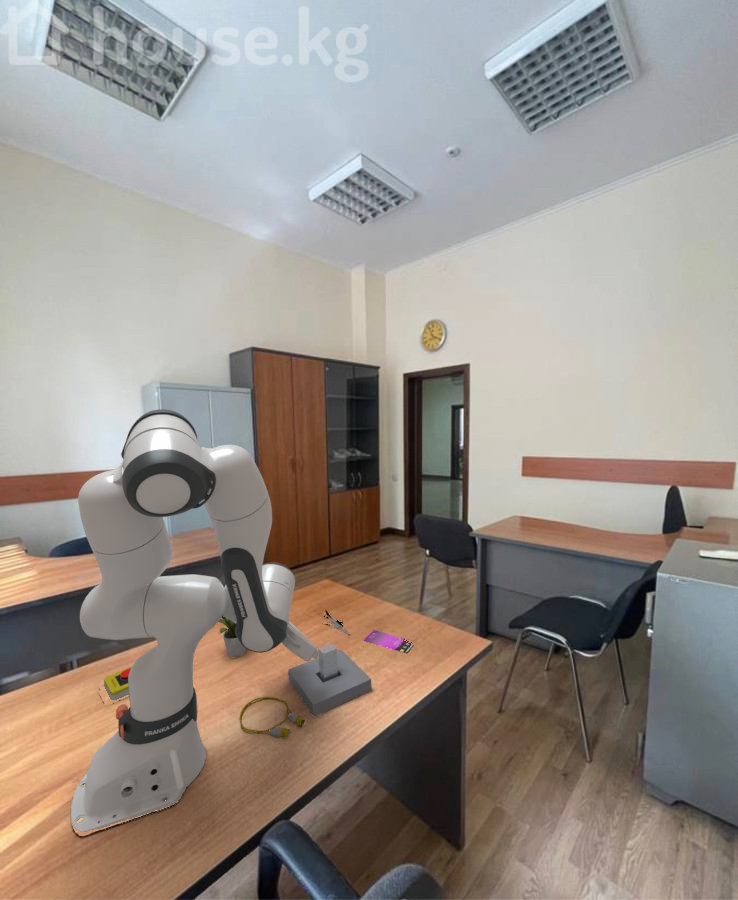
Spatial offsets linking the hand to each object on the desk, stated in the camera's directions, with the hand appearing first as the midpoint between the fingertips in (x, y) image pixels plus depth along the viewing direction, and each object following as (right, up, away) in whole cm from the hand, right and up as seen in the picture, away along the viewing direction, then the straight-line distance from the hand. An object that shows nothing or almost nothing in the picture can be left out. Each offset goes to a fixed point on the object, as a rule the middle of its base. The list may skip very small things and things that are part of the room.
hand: (308, 646), depth 99 cm
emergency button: (-48, -13, +6) cm, 50 cm away
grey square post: (+5, -11, +3) cm, 13 cm away
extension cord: (-8, -13, -8) cm, 18 cm away
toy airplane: (+3, -10, +35) cm, 37 cm away
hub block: (+5, -11, +3) cm, 13 cm away
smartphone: (+22, -10, +22) cm, 33 cm away
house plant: (-25, -11, +17) cm, 32 cm away
